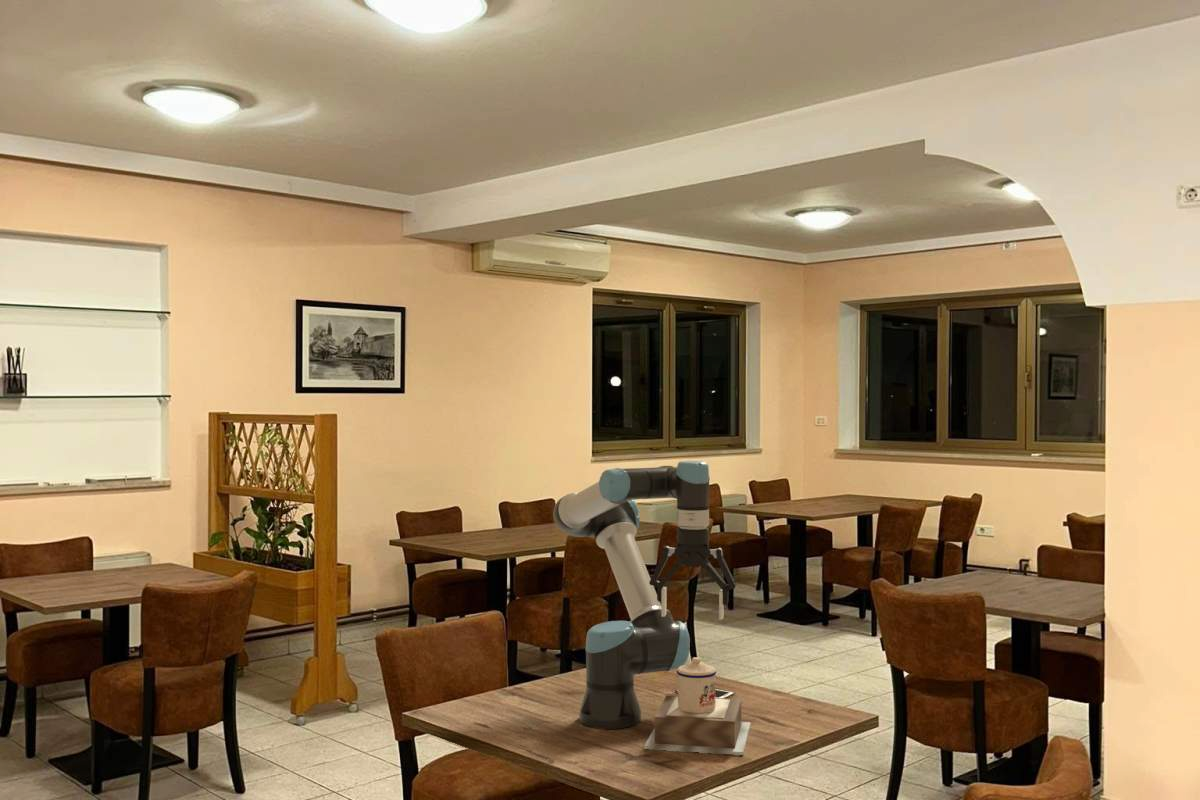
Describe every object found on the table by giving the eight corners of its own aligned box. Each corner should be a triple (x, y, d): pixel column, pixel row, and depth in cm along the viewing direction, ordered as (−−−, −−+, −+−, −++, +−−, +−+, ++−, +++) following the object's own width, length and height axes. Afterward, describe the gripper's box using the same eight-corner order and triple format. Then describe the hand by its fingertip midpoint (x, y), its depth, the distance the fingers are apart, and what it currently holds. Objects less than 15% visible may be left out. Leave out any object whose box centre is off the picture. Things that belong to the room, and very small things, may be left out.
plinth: (644, 749, 235) (644, 718, 235) (659, 720, 257) (659, 691, 257) (743, 755, 231) (742, 723, 231) (750, 725, 252) (750, 696, 252)
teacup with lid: (705, 716, 236) (705, 664, 236) (669, 710, 241) (669, 659, 241) (728, 703, 246) (727, 653, 246) (693, 698, 251) (693, 649, 251)
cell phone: (688, 687, 288) (688, 683, 288) (736, 696, 279) (736, 692, 279) (673, 693, 282) (673, 690, 282) (721, 702, 273) (721, 699, 273)
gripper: (637, 527, 246) (637, 617, 246) (744, 531, 241) (744, 623, 241) (643, 523, 253) (643, 610, 254) (747, 526, 248) (747, 616, 248)
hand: (692, 617), depth 247 cm, fingers open, 13 cm apart
